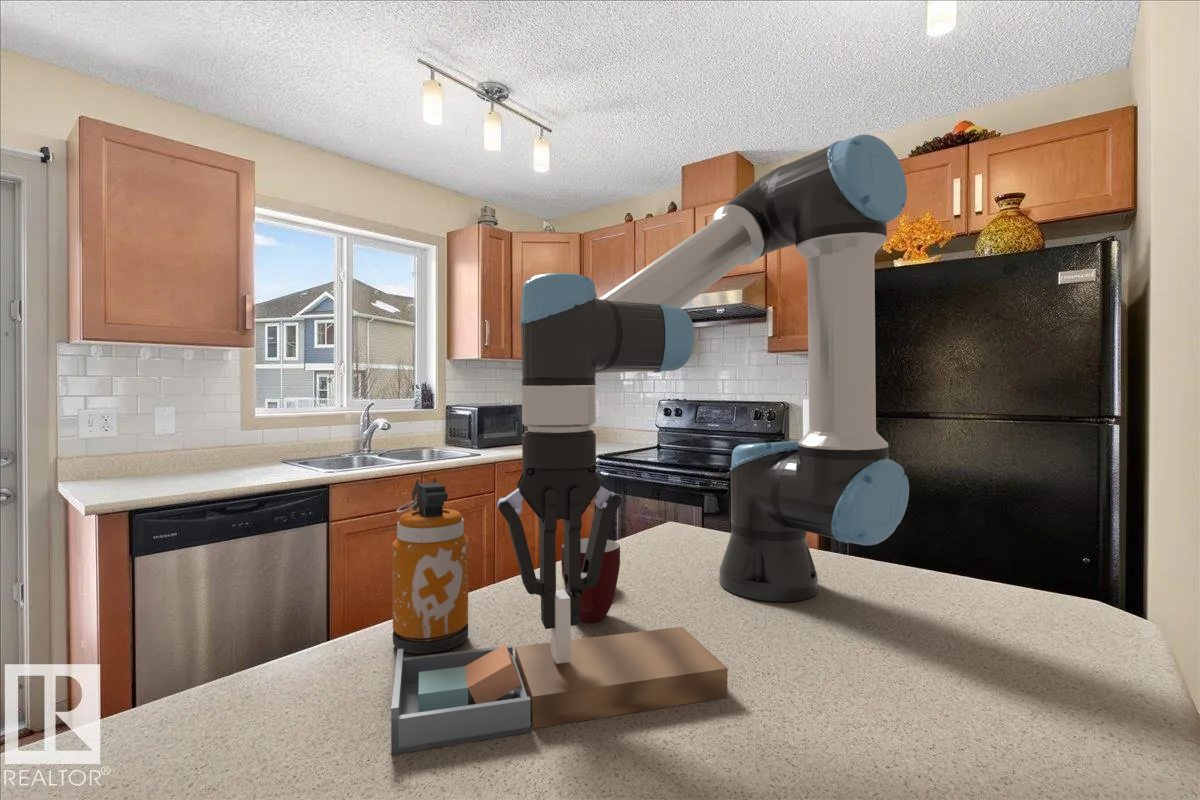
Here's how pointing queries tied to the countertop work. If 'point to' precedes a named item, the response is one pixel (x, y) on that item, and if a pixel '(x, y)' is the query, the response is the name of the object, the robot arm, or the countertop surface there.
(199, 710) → the countertop surface
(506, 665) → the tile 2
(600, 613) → the mug
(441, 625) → the canister
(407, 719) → the box
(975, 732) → the countertop surface
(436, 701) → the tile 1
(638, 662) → the tan wooden flat box
